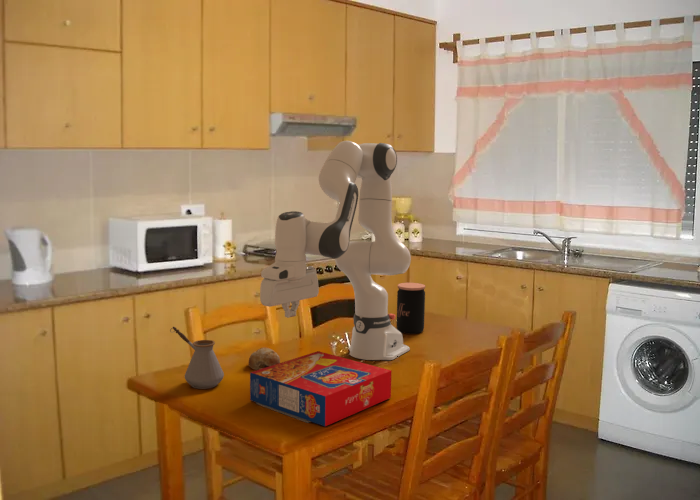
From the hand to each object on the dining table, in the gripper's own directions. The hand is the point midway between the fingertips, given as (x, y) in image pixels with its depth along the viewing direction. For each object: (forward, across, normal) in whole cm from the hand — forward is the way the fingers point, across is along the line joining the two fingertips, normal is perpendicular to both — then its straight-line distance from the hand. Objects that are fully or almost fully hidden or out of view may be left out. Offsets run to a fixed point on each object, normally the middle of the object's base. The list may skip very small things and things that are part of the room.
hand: (290, 316), depth 206 cm
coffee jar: (+22, -79, -15) cm, 83 cm away
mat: (+22, 0, +11) cm, 25 cm away
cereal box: (+18, 0, -2) cm, 18 cm away
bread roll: (+22, -10, -23) cm, 33 cm away
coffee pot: (+22, +14, -27) cm, 38 cm away
